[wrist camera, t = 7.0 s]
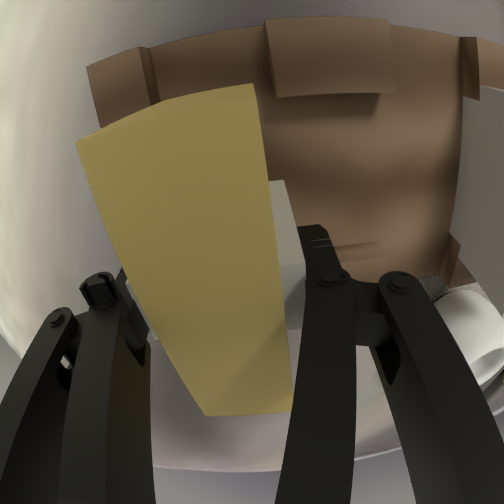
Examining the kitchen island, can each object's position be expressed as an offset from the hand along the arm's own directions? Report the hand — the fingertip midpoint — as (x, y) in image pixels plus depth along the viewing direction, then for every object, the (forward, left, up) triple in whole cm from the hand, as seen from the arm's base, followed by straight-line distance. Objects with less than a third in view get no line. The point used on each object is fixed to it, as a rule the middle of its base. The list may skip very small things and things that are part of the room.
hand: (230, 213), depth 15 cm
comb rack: (0, +6, -4) cm, 7 cm away
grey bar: (0, +17, -3) cm, 17 cm away
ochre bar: (0, 0, -1) cm, 1 cm away
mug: (+15, +20, -4) cm, 25 cm away
